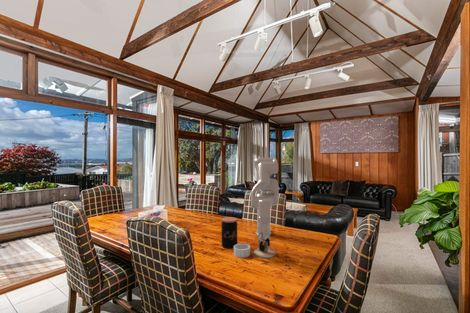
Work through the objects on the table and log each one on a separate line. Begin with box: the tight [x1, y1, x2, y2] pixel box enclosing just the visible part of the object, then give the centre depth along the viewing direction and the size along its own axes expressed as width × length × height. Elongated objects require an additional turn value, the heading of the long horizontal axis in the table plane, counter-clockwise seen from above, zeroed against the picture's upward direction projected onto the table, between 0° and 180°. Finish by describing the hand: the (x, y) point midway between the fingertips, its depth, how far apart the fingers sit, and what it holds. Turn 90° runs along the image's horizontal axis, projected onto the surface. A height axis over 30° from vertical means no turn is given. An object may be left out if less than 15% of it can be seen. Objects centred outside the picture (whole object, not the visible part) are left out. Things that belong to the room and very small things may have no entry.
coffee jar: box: [221, 216, 238, 249], centre depth 153 cm, size 11×11×18 cm
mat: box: [252, 250, 277, 260], centre depth 139 cm, size 14×10×1 cm
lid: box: [253, 240, 276, 259], centre depth 139 cm, size 13×13×7 cm
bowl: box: [233, 243, 251, 258], centre depth 138 cm, size 10×10×5 cm
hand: (264, 248), depth 139 cm, fingers open, 8 cm apart
